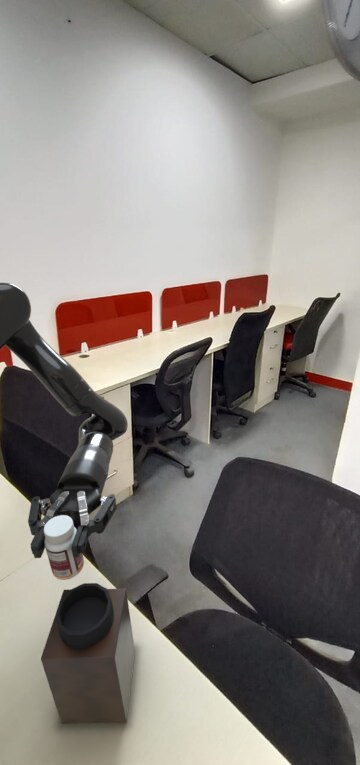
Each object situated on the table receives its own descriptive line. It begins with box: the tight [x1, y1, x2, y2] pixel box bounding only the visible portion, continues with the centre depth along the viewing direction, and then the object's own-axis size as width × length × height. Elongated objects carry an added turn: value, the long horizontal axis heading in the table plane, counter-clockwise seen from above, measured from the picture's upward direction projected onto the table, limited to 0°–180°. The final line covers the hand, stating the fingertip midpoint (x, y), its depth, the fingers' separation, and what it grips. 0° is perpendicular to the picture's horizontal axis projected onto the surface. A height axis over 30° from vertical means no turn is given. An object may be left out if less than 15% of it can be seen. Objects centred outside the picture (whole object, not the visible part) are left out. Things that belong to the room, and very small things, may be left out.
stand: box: [40, 588, 136, 724], centre depth 55 cm, size 10×10×16 cm
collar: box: [55, 582, 114, 649], centre depth 52 cm, size 8×8×3 cm
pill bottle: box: [44, 515, 85, 581], centre depth 52 cm, size 5×5×8 cm
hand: (55, 553), depth 49 cm, fingers closed on pill bottle, 4 cm apart
